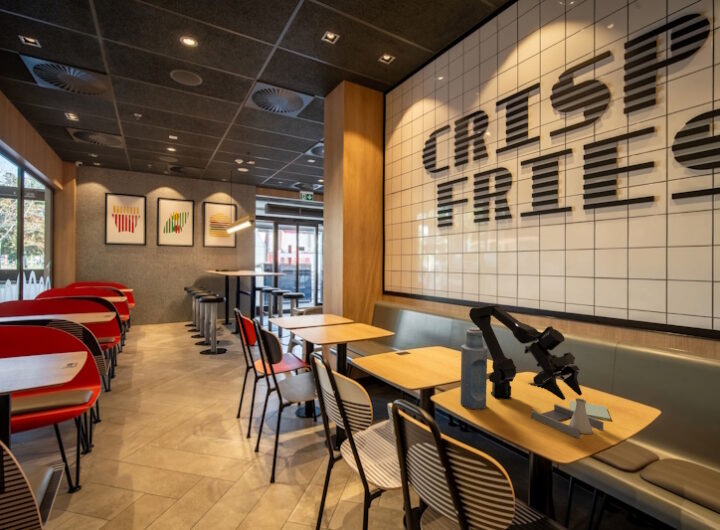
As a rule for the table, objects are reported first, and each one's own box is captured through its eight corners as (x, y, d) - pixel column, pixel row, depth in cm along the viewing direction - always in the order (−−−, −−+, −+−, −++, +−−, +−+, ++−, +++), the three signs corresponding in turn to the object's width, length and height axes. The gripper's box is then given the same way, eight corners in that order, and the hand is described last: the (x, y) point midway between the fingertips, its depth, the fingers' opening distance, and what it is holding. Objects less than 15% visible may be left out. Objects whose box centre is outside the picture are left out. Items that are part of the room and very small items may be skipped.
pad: (571, 413, 135) (571, 411, 135) (569, 402, 146) (569, 400, 146) (610, 420, 130) (610, 418, 130) (605, 408, 140) (605, 406, 140)
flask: (597, 436, 118) (597, 405, 118) (572, 433, 120) (573, 403, 120) (587, 426, 125) (588, 397, 125) (564, 423, 127) (565, 395, 127)
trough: (530, 417, 131) (531, 410, 131) (555, 410, 138) (555, 404, 138) (578, 438, 116) (578, 430, 116) (603, 429, 123) (603, 422, 123)
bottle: (478, 399, 148) (479, 325, 148) (491, 409, 138) (492, 330, 138) (456, 401, 146) (457, 326, 146) (467, 411, 137) (468, 330, 136)
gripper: (541, 347, 125) (572, 390, 116) (574, 342, 134) (606, 381, 124) (521, 365, 132) (549, 406, 123) (554, 358, 141) (582, 397, 131)
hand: (572, 397), depth 125 cm, fingers open, 9 cm apart
